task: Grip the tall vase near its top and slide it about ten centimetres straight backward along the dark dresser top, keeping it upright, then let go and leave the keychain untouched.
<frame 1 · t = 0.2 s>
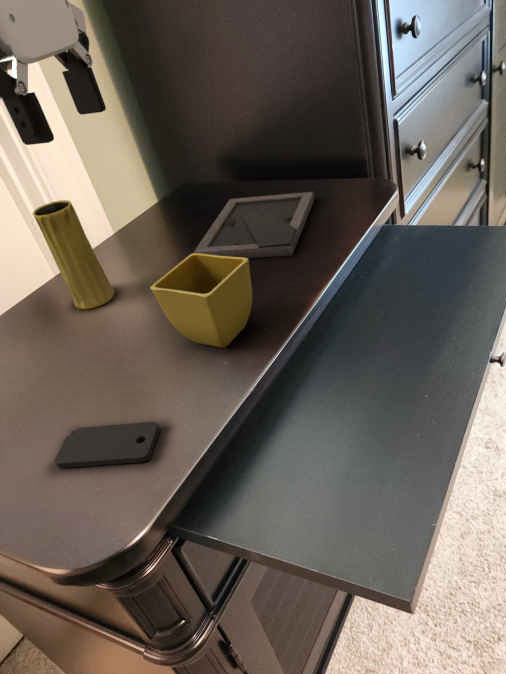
hand: (68, 126, 52), 26 cm above the table, tool pointing down, fingers open, 9 cm apart
vase: (95, 300, 80), on the table
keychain: (110, 448, 54), on the table
picture frame: (259, 229, 90), on the table
flower pot: (219, 336, 67), on the table
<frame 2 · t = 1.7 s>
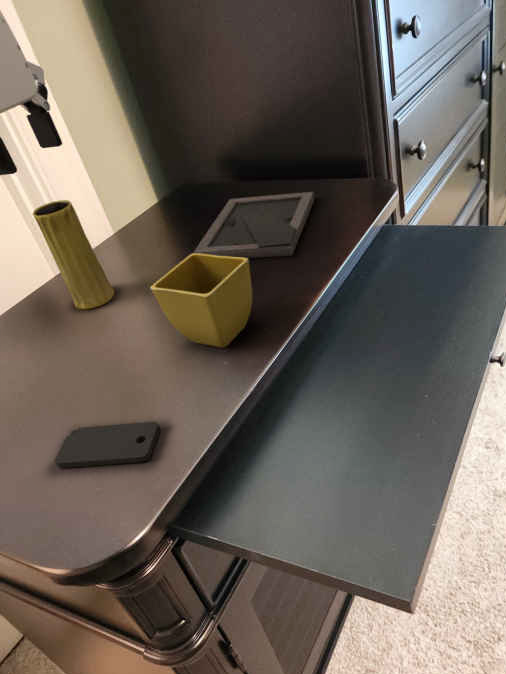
hand: (30, 159, 66), 21 cm above the table, tool pointing down, fingers open, 9 cm apart
nothing on the table moved.
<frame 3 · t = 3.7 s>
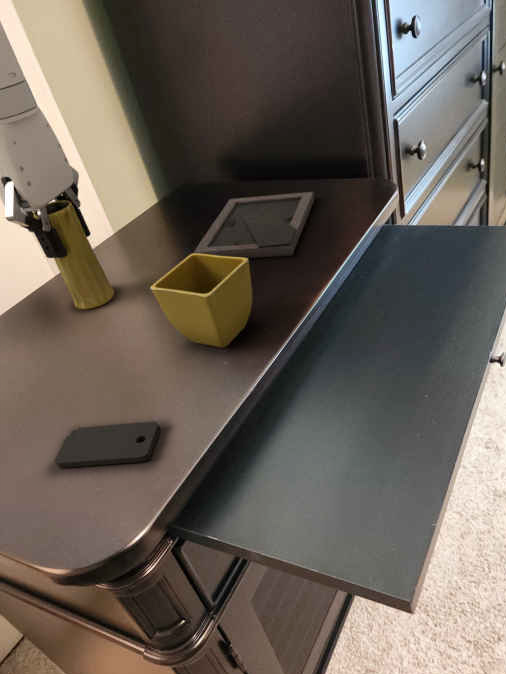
hand: (69, 245, 74), 9 cm above the table, tool pointing down, fingers closed on vase, 5 cm apart
vase: (95, 300, 80), on the table, touching gripper
everything else where it was.
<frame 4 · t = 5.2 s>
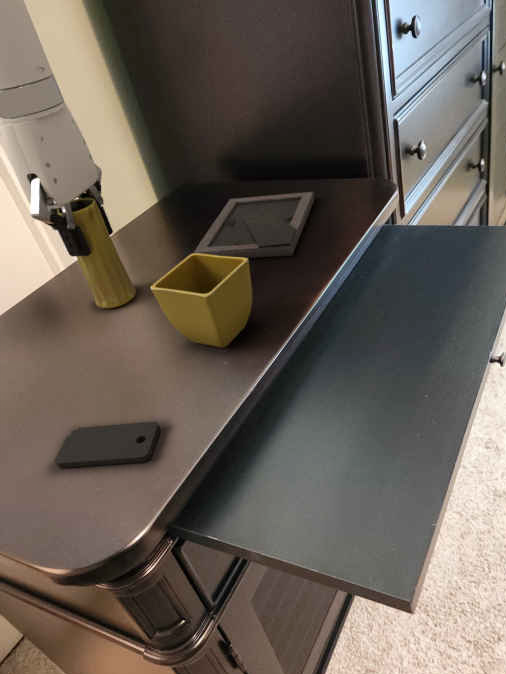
hand: (92, 243, 73), 9 cm above the table, tool pointing down, fingers closed on vase, 5 cm apart
vase: (116, 299, 79), on the table, touching gripper
everything else where it was.
when the fingers open (9 cm above the table, at t = 7.2 s): vase stays where it is, on the table.
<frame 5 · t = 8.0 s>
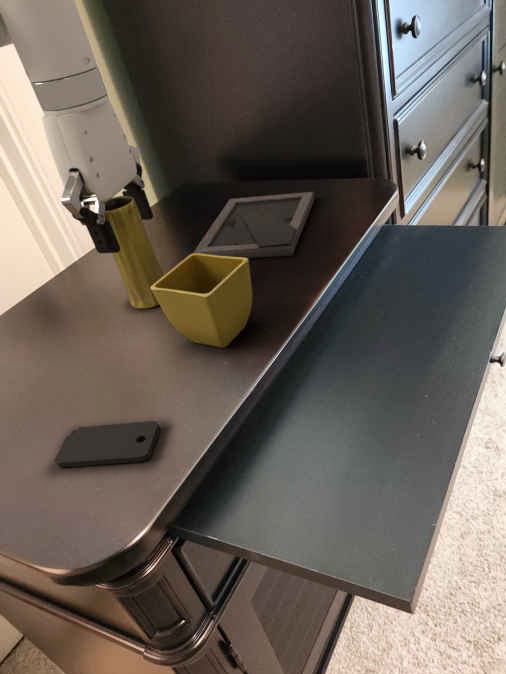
hand: (127, 234, 71), 10 cm above the table, tool pointing down, fingers open, 9 cm apart
vase: (151, 299, 77), on the table
everything else where it was.
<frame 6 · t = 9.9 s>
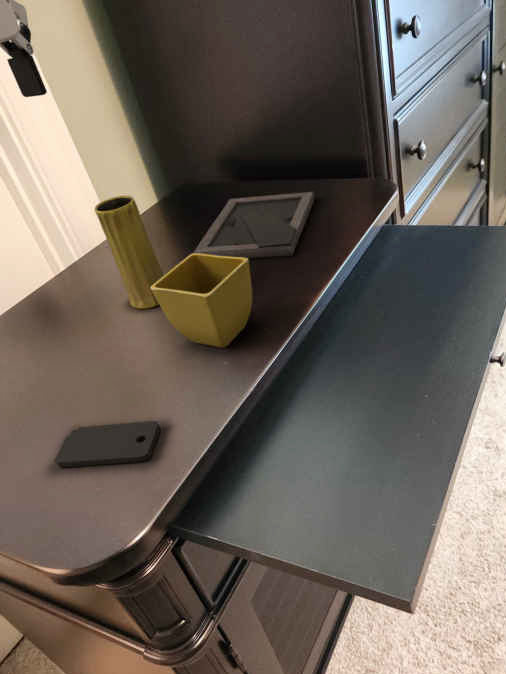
hand: (11, 106, 60), 27 cm above the table, tool pointing down, fingers open, 9 cm apart
nothing on the table moved.
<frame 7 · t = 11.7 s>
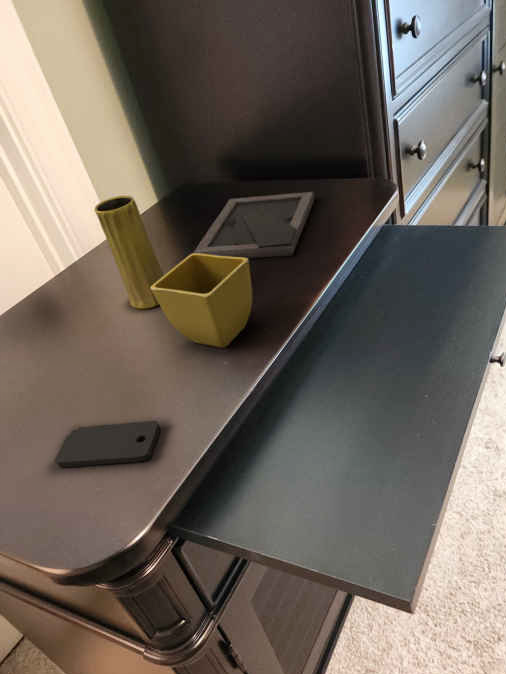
nothing on the table moved.
at the end: vase 0.5 cm from the target spot, on the table; vase tilted 0°; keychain moved 0.1 cm from its start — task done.
